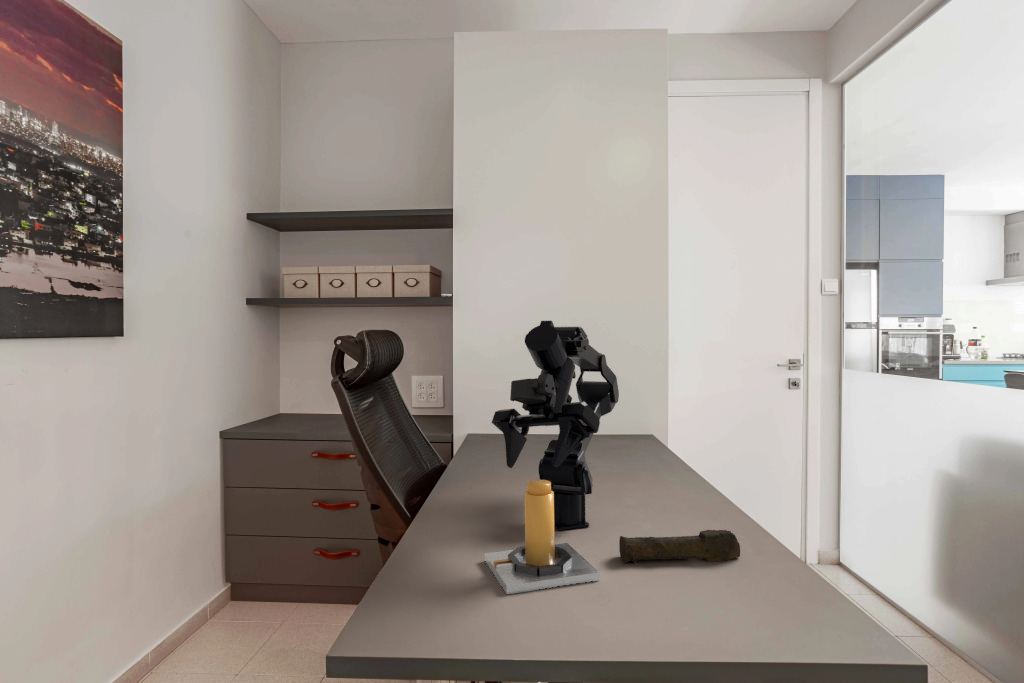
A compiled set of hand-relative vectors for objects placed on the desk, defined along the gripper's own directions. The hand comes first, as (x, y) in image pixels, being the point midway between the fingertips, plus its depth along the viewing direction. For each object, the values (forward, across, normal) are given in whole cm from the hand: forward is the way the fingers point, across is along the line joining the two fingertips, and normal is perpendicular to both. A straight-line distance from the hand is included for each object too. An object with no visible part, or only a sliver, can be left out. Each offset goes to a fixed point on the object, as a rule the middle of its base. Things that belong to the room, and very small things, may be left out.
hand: (531, 466), depth 91 cm
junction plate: (+14, +2, +6) cm, 16 cm away
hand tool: (+6, +17, +21) cm, 27 cm away
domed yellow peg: (+13, +2, +5) cm, 14 cm away
